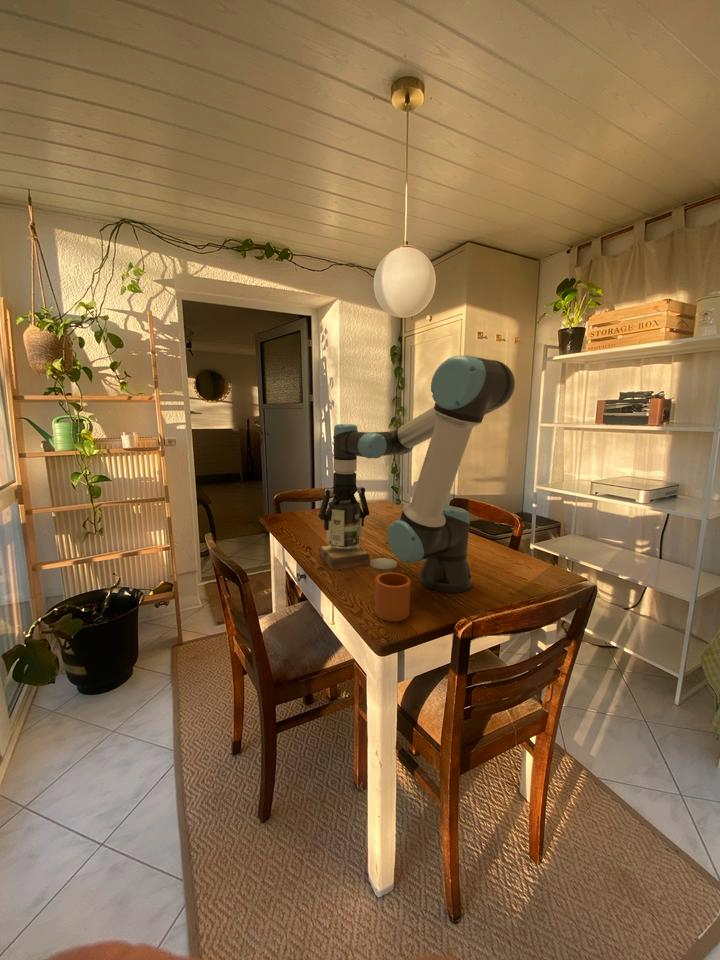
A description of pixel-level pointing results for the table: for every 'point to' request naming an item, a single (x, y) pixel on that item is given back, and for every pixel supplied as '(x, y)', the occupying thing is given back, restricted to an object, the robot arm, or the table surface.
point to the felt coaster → (383, 563)
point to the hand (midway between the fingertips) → (344, 537)
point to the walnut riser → (344, 557)
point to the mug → (392, 596)
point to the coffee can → (344, 525)
